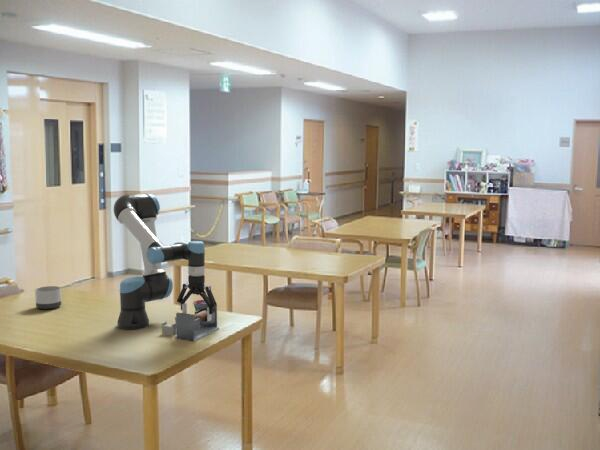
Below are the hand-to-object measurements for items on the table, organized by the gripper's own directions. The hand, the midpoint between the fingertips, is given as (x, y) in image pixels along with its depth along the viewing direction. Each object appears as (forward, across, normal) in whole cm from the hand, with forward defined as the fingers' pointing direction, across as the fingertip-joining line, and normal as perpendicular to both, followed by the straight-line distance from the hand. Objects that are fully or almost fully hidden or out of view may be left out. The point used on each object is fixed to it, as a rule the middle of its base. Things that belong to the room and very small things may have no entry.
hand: (196, 319), depth 295 cm
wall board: (+7, 0, 0) cm, 7 cm away
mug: (+7, -6, +18) cm, 20 cm away
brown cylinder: (+2, 0, 0) cm, 2 cm away
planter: (+9, -100, +9) cm, 100 cm away
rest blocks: (+7, -12, 0) cm, 14 cm away
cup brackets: (+7, 0, 0) cm, 7 cm away
